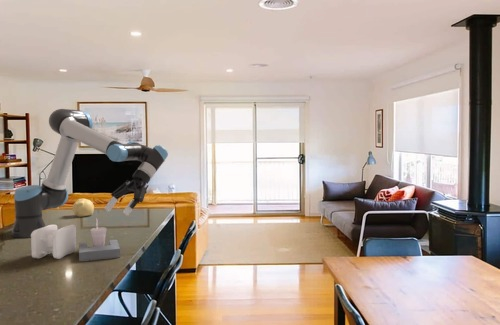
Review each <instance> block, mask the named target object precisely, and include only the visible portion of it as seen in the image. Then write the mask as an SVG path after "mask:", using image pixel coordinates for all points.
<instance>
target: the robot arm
mask: <svg viewBox="0 0 500 325" xmlns="http://www.w3.org/2000/svg"><path fill="white" fill-rule="evenodd" d="M93 124H94V123H93V119H92V118H91V115H90V114H89V113H88V112H87V111H84V110H80V109H69V108H59V109H56V110H54V111H52V112H51V114H50V115H49V118H48V125H49V127H50V129H51V130H52V131H53V132H55V133H56V134H59V135H60V140H59V142H58V146H57V148H56V152H55V154H54V158H53V160H52V163H51V166H50V168H49V171H48V174H47V177H46V178H45V179H43V180H42V182H41V185H39V184H32V185H26V186H21V187H19V188H16V189H15V190H14V197H13V199H14V212H15V213H14V216H15V217H14V218H15V219H14V222H13V226H12V229H11V237H13V238H19V239H21V238H24V239H25V238H31V234H32V232H33V231H34V230H37V229H40V228H43V227H46V226H47V225H46V224H45V221H44V219H43V218H44V217H43V211H45V210H50V209H56V208H59V207H62V206H63V205H65V204H66V203H67V201H68V199H69V193H68V191H69V190H68V189H67V184H66V181H67V178H68V174H69V172H70V168H71V166H72V162H73V160H74V158H75V154H76V151H77V148H78V146H79V142H80V143H82V144H84V145H86V146H87V147H90V148H92V149H94V150H96V151H98V152H100V153H102V154H105V155H106V156H107V157H108V158H109V161H110V160H111V161H112V162H117V163H118V162H119V163H120V162H125V161H138V162H141V164H140V165H139V166H138V167H137V169H136V170H135V171H134V173H133V174H132V180H129V179H126V180H125V182H124V183H122V184H121V185H120V186H119V187H117V188H116V189H115V190H114V191H113V192H111V193H110V195H111V198H110V200H109V201H108V202H107V204H106V205H105V206H104V207H103V209H104V210H105V211H106V212H107V213H110V212H111V210H112V209H113V208H114V206H115V205H116V204H117V202H118V200H119V199H120V198H122V197H123V196H125V195H127V194H128V193H131V192H132V193H133V198H132V199H131V200H130V201H129V203H128V204H127V205H126V206H125V208H124V209H123V211H122V212H123V214H124V215H125V216H127V217H128V216H129V215H130V214H131V212H132V211H133V209H134V208H135V207H136V206H137V204H139V203H143V202H144V199H145V195H146V193H147V190H148V188H149V183H150V181H151V179H152V178H153V177H154V176H155V174H156V173H157V171H158V170H159V168H161V166H162V165H163V163H164V162H165V161H166V159H167V158H168V155H169V154H168V153H169V152H168V150H167V149H166V148H165V147H164V146H161V145H160V144H156V145H154V147H153V148H152V147H148V146H146V145H144V144H141V143H140V142H135V141H133V140H130V141H128V142H127V143H123V142H120V141H118V140H115V139H114V138H112V137H109V136H107V135H105V134H103V133H101V132H99V131H97V130H94V129H93V127H94V125H93Z"/></svg>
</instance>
